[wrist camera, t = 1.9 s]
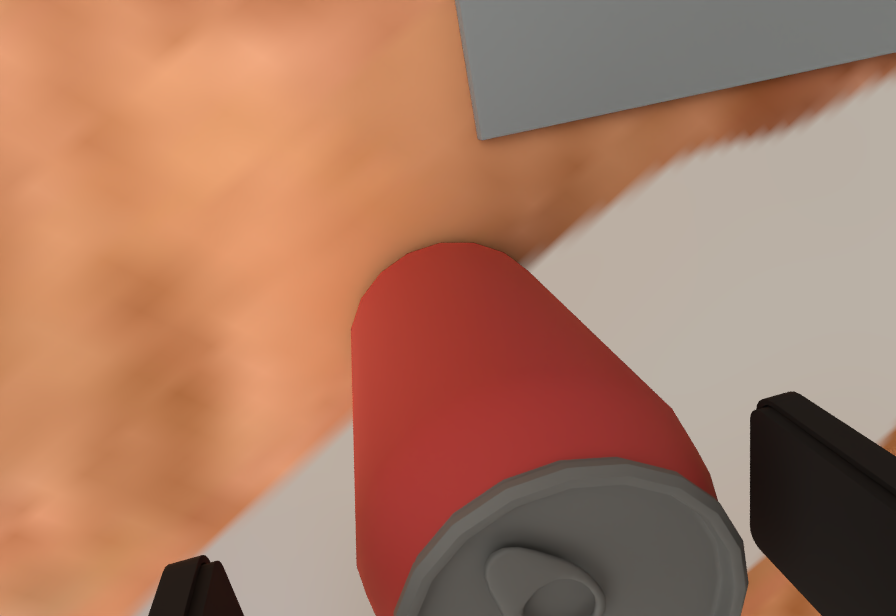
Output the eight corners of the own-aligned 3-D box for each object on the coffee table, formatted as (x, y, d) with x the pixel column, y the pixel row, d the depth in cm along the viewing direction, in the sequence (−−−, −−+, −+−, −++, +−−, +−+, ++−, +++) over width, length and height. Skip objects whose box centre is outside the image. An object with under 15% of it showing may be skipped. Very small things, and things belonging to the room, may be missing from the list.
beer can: (455, 193, 19) (618, 338, 8) (583, 330, 21) (854, 598, 10) (306, 338, 19) (254, 665, 8) (445, 455, 22) (552, 836, 11)
